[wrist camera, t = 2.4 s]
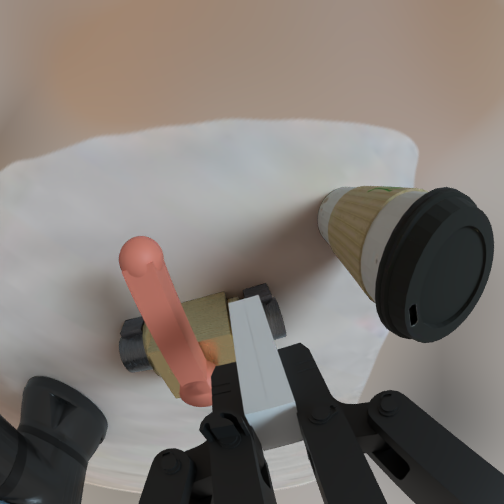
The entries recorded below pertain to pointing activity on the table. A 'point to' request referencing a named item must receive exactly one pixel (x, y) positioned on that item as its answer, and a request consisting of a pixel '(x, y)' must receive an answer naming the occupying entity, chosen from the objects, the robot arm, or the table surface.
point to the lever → (166, 318)
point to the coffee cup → (412, 253)
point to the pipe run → (205, 330)
